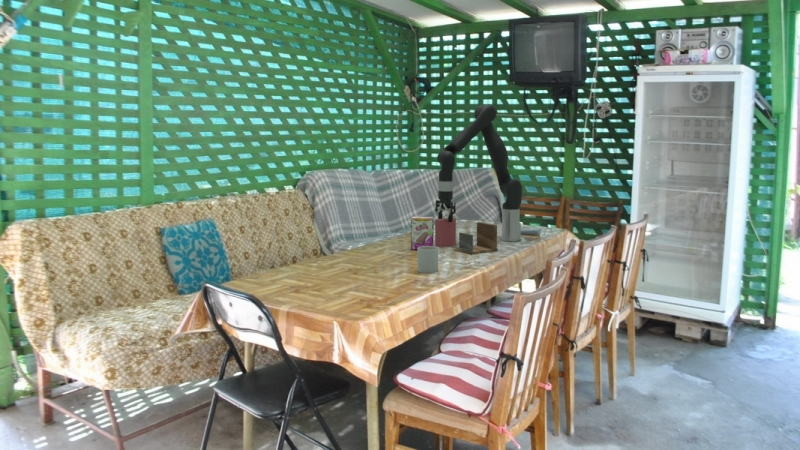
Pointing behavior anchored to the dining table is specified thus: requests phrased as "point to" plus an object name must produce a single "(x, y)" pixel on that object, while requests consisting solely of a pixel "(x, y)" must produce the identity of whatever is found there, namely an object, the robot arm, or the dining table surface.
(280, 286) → the dining table surface
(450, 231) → the burgundy book
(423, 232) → the candy bar box
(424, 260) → the mug
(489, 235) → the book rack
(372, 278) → the dining table surface
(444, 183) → the robot arm
